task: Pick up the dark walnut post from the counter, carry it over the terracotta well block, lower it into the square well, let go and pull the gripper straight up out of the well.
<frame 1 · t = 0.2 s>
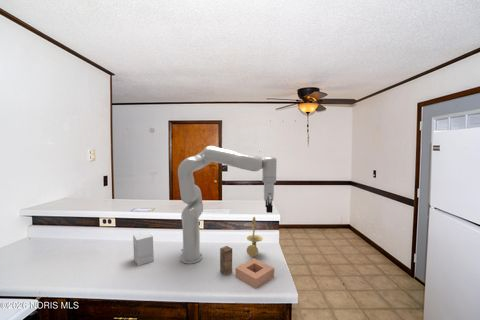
hand: (268, 209, 134), 31 cm above the worktop, tool pointing down, fingers open, 9 cm apart
supplement box: (143, 260, 139), on the worktop
wall sconce: (254, 257, 144), on the worktop
walnut post: (226, 272, 127), on the worktop
well block: (254, 276, 123), on the worktop
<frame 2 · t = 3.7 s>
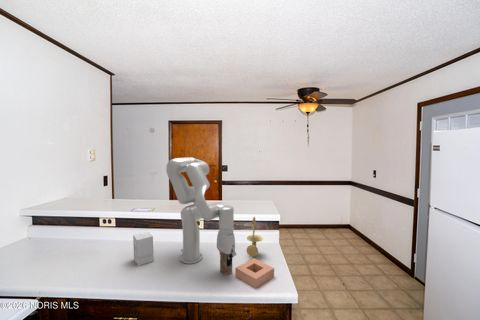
hand: (226, 263, 127), 5 cm above the worktop, tool pointing down, fingers closed on walnut post, 4 cm apart
walnut post: (226, 272, 127), on the worktop, touching gripper
everything else where it was.
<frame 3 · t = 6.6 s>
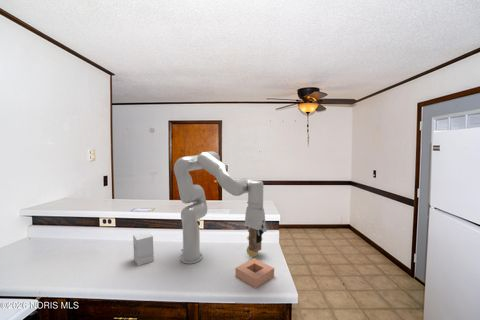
hand: (255, 240, 122), 19 cm above the worktop, tool pointing down, fingers closed on walnut post, 4 cm apart
walnut post: (255, 249, 122), point 14 cm above the worktop, touching gripper
everything else where it was.
when the fingers open (7 cm above the worktop, at t = 9.5 s): walnut post drops 1 cm, resting on well block.
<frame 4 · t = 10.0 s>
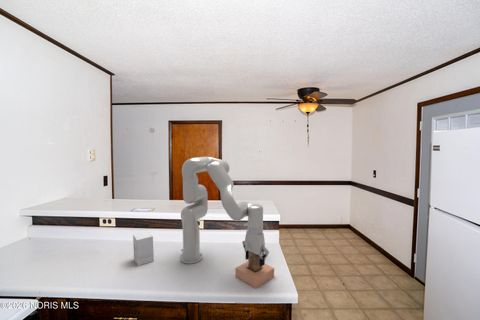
hand: (254, 262, 123), 8 cm above the worktop, tool pointing down, fingers open, 9 cm apart
walnut post: (254, 275, 123), resting on well block
everything else where it was.
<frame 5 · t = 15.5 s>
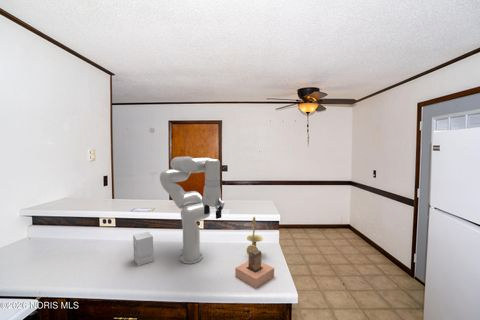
hand: (212, 215, 125), 30 cm above the worktop, tool pointing down, fingers open, 9 cm apart
nothing on the worktop moved.
at the end: walnut post 0.1 cm off-centre on the well block, point 0.3 cm above the well block's base; walnut post tilted 0°; the gripper is holding nothing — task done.
